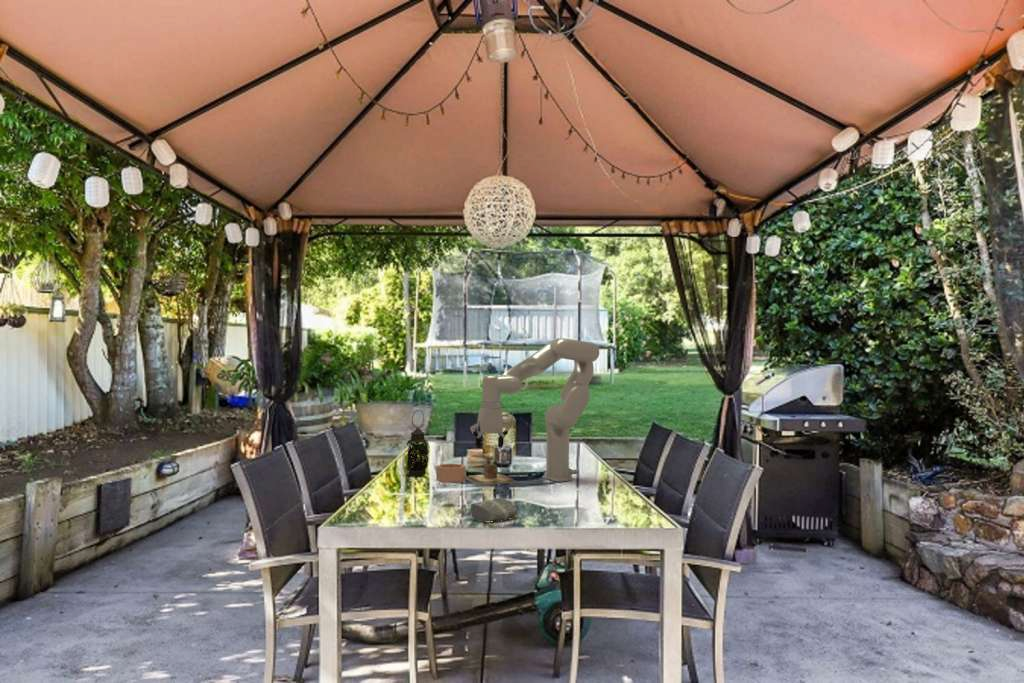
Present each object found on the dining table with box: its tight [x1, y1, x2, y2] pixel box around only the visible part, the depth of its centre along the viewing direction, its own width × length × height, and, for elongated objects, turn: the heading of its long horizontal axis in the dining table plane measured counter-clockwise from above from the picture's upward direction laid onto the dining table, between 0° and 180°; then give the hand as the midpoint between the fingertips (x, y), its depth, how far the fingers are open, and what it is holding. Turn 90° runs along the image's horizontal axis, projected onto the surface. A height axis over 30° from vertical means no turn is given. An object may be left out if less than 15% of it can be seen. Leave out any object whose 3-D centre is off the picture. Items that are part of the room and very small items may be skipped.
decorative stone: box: [470, 497, 518, 523], centre depth 233 cm, size 13×10×6 cm
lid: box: [467, 463, 514, 484], centre depth 297 cm, size 14×14×6 cm
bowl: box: [435, 463, 467, 483], centre depth 296 cm, size 11×11×7 cm
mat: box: [465, 476, 519, 486], centre depth 297 cm, size 18×18×1 cm
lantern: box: [406, 409, 430, 478], centre depth 311 cm, size 10×9×28 cm
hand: (489, 447), depth 296 cm, fingers open, 9 cm apart
